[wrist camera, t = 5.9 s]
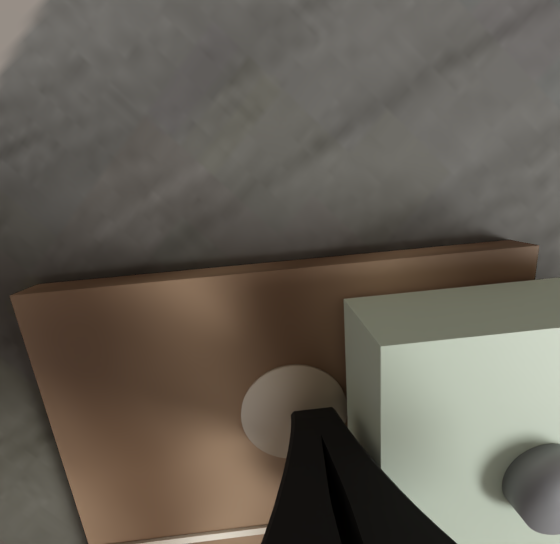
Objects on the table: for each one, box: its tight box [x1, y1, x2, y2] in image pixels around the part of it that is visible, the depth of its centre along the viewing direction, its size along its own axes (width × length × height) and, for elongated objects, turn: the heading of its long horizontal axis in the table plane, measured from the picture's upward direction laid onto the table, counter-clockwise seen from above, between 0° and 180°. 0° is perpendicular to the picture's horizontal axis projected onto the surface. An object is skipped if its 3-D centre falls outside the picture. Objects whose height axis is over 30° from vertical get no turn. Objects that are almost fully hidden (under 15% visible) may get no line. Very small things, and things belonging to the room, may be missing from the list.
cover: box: [344, 277, 560, 544], centre depth 9 cm, size 8×8×4 cm
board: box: [10, 240, 539, 544], centre depth 12 cm, size 16×20×1 cm
